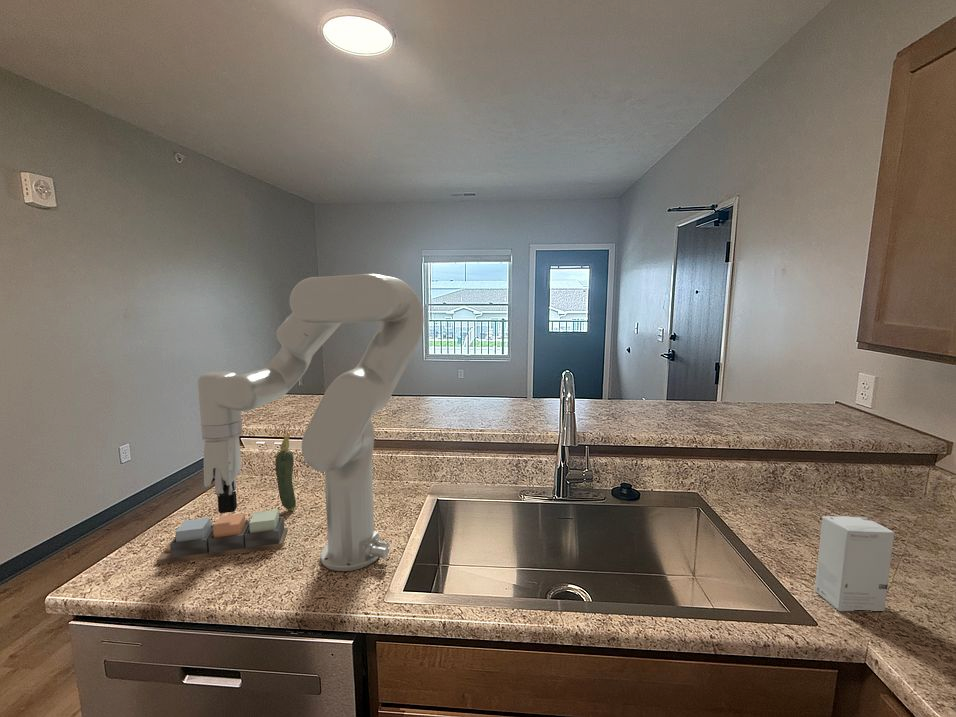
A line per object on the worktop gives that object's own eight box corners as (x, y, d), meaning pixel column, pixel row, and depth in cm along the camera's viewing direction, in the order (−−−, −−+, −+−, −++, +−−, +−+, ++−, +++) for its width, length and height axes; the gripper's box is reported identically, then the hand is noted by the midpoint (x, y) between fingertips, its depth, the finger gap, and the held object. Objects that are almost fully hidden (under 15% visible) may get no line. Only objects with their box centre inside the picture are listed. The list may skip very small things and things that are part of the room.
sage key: (279, 525, 100) (278, 509, 100) (275, 536, 96) (274, 519, 95) (255, 528, 99) (254, 512, 99) (250, 540, 94) (249, 522, 94)
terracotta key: (246, 529, 99) (245, 513, 98) (240, 541, 94) (239, 524, 93) (221, 533, 97) (220, 516, 97) (214, 544, 93) (212, 527, 92)
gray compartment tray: (287, 531, 102) (286, 515, 101) (282, 547, 95) (281, 530, 95) (170, 546, 96) (169, 529, 95) (156, 564, 89) (154, 546, 89)
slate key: (211, 534, 97) (210, 517, 96) (203, 546, 92) (202, 528, 92) (186, 537, 96) (184, 520, 95) (177, 549, 91) (175, 531, 90)
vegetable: (283, 516, 110) (279, 439, 107) (274, 511, 112) (270, 436, 110) (300, 509, 113) (295, 435, 111) (291, 505, 116) (286, 432, 113)
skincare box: (838, 612, 75) (847, 531, 73) (812, 590, 81) (819, 514, 79) (887, 613, 75) (897, 531, 73) (857, 590, 81) (866, 514, 79)
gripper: (214, 421, 99) (219, 498, 101) (188, 441, 84) (196, 530, 87) (250, 419, 101) (254, 494, 103) (231, 438, 86) (237, 525, 89)
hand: (227, 510), depth 95 cm, fingers closed
